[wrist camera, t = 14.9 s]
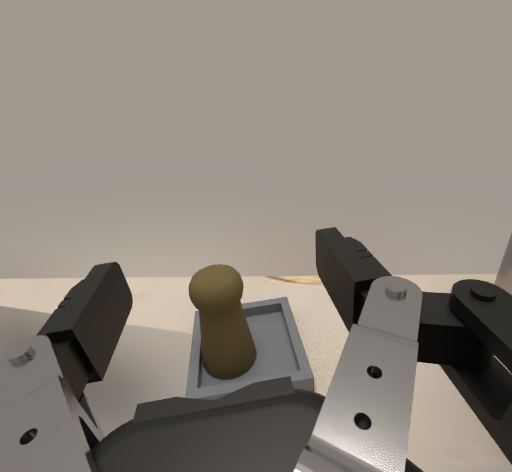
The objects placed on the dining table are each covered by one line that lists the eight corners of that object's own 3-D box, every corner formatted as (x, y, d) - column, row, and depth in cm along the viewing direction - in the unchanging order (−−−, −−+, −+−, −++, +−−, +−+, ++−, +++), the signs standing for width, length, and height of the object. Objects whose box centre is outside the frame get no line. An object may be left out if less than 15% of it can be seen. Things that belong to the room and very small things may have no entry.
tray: (287, 308, 38) (286, 296, 37) (314, 391, 27) (314, 377, 26) (198, 322, 37) (195, 311, 36) (189, 413, 26) (185, 400, 26)
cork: (192, 356, 32) (169, 275, 27) (234, 326, 35) (220, 250, 30) (223, 391, 27) (203, 303, 22) (268, 354, 31) (258, 270, 26)
